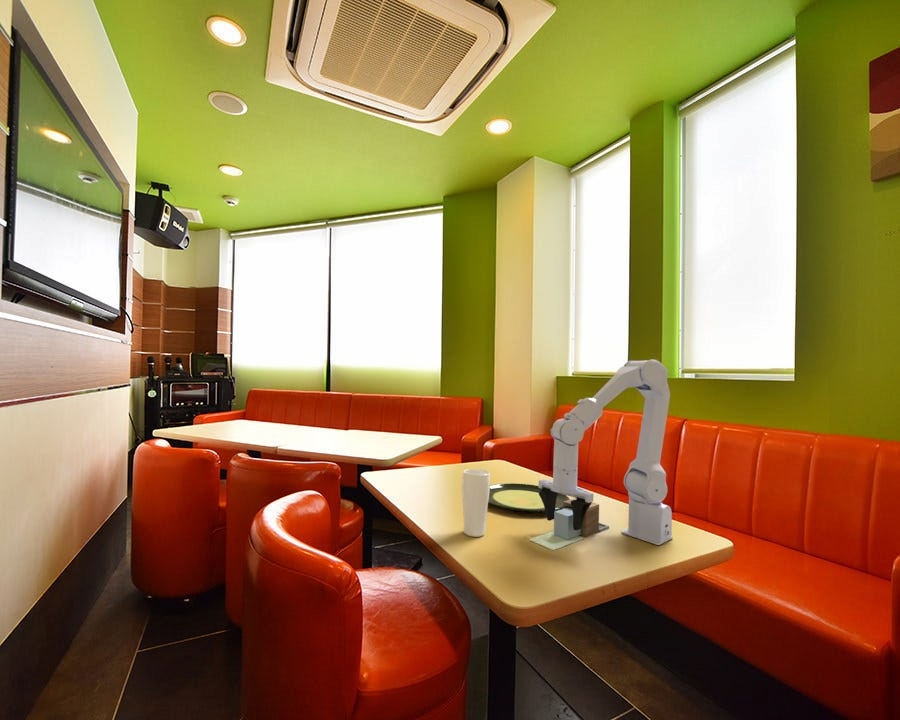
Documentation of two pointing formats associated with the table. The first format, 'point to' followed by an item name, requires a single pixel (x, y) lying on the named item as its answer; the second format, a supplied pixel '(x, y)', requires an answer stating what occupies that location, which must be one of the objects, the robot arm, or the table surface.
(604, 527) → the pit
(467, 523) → the drinking glass
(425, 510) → the table surface
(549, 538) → the pad
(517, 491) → the plate
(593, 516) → the tunnel
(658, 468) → the robot arm
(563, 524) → the pale grey rectangular block
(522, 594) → the table surface
